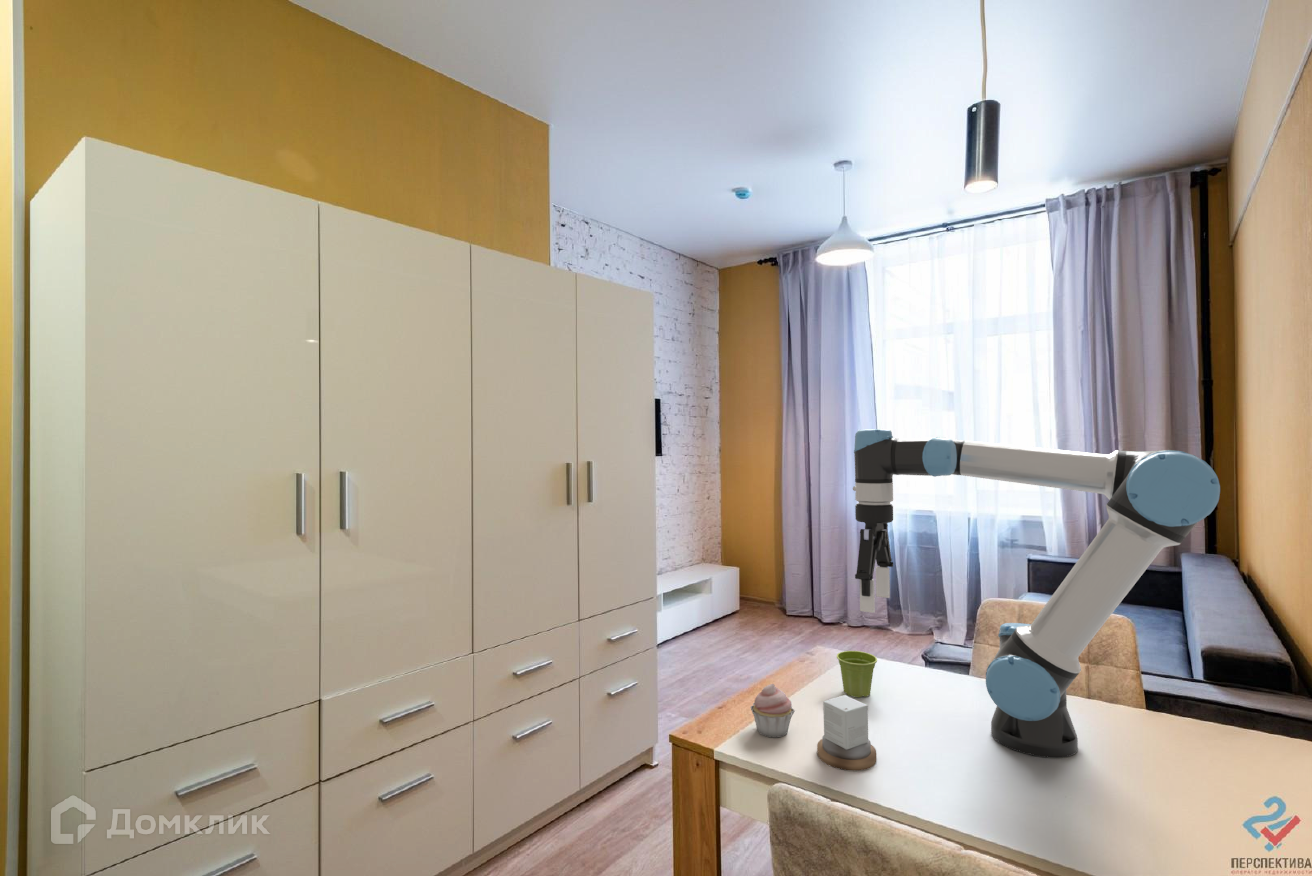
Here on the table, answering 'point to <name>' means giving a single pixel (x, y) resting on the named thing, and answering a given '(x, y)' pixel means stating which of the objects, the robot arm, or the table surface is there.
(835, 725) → the product box
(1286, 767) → the table surface
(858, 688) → the plant pot
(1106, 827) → the table surface
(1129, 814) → the table surface
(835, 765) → the pedestal
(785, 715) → the cupcake
